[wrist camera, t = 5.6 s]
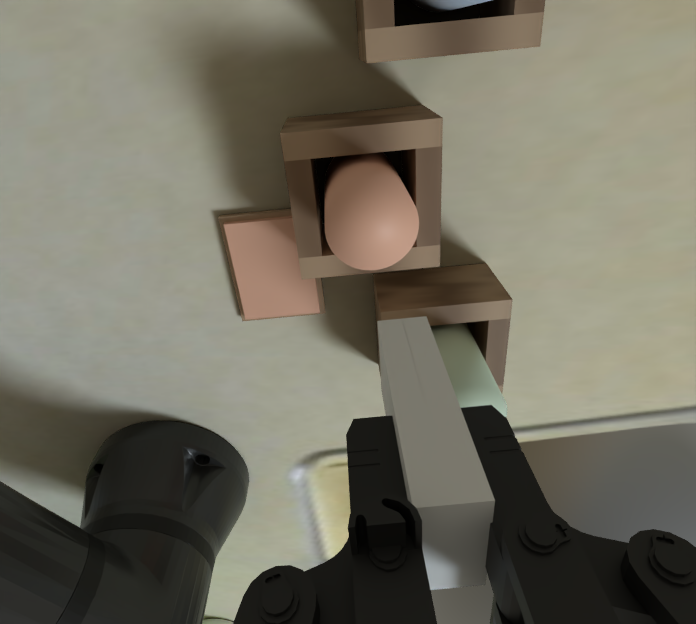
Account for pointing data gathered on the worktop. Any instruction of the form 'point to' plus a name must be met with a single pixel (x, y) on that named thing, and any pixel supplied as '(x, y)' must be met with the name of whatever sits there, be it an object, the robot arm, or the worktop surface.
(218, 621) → the mug
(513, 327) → the worktop surface
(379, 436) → the robot arm
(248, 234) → the tile
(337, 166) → the pink rounded cylinder
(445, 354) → the sage plunger
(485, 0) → the slate plunger
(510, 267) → the worktop surface
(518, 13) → the wooden box holder
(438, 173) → the brown housing
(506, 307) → the square brown wooden frame
